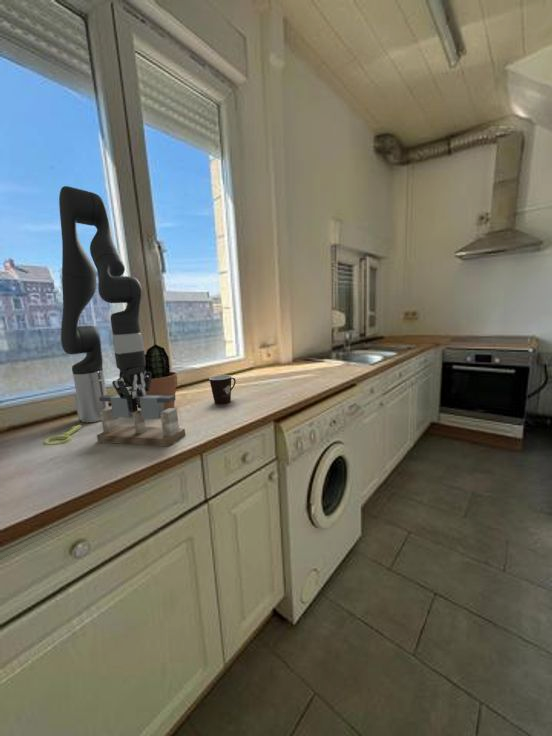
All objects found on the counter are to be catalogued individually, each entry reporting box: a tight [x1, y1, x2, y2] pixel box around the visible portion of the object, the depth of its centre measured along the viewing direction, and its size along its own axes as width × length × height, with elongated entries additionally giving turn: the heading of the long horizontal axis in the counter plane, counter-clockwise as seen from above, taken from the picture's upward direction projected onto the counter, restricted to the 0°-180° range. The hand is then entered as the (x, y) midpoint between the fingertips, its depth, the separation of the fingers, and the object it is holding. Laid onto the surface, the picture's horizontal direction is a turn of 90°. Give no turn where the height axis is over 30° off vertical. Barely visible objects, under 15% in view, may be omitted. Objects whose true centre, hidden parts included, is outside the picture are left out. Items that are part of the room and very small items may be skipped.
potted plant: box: [143, 344, 179, 410], centre depth 120 cm, size 14×14×25 cm
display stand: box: [96, 405, 186, 447], centre depth 91 cm, size 24×8×9 cm, turn 74°
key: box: [44, 424, 82, 446], centre depth 97 cm, size 7×12×2 cm, turn 14°
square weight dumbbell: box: [99, 394, 176, 420], centre depth 90 cm, size 24×3×6 cm, turn 74°
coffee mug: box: [209, 374, 237, 405], centre depth 125 cm, size 12×9×10 cm
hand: (137, 409), depth 90 cm, fingers closed on square weight dumbbell, 2 cm apart
